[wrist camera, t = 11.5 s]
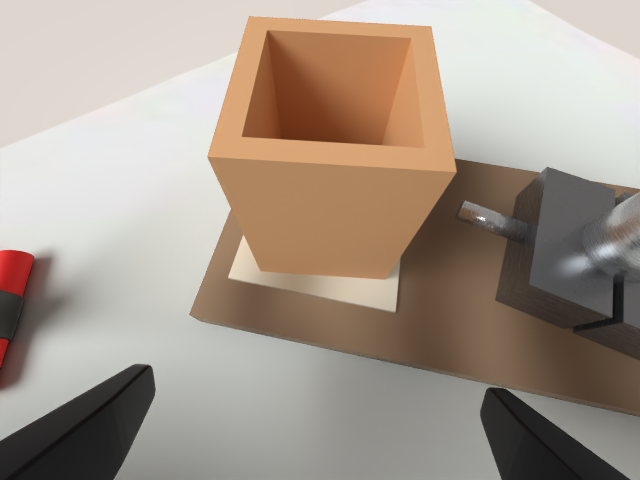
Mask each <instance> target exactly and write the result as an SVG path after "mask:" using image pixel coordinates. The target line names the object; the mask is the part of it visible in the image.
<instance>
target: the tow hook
mask: <svg viewBox="0 0 640 480" xmlns="http://www.w3.org/2000/svg"><path fill="white" fill-rule="evenodd" d="M33 260H34V256H33V255H31V254H29V253H26V252H22V251H16V250H3V251H0V367H1V364H2V361H3V358H4V354H5V351H6V348H7V345H8V342H9V341H10V340H11V339H12V338H13V335H14V332H15V328H16V325H17V322H18V318H19V315H20V312H21V309H22V305H23V302H24V298H23V297H22V296H23V293H24V289H25V286H26V283H27V280H28V276H29V273H30V270H31V267H32V263H33Z"/></svg>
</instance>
